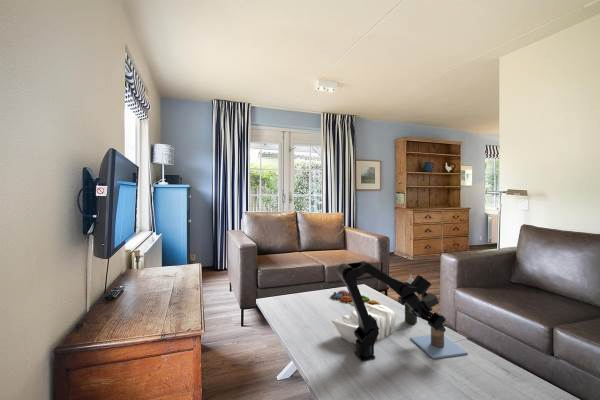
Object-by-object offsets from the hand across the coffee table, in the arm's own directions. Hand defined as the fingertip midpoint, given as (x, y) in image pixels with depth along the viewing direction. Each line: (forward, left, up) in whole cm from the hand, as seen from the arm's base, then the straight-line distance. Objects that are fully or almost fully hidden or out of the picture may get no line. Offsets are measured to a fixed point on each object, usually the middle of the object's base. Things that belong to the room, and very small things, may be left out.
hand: (437, 325), depth 122 cm
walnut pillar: (0, 0, -8) cm, 8 cm away
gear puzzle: (-10, +58, -10) cm, 59 cm away
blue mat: (0, 0, -9) cm, 9 cm away
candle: (+4, +23, -9) cm, 25 cm away
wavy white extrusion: (-23, +19, -9) cm, 32 cm away
